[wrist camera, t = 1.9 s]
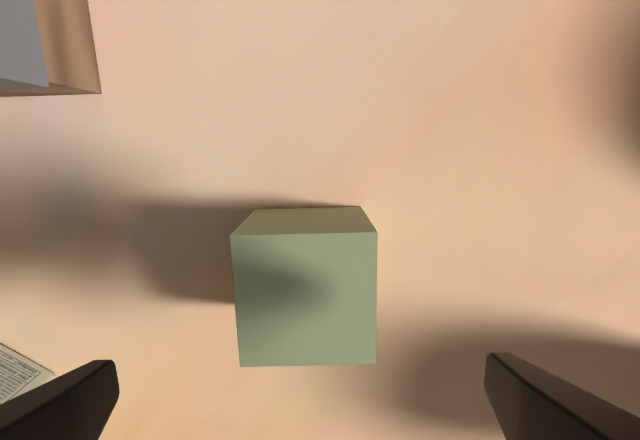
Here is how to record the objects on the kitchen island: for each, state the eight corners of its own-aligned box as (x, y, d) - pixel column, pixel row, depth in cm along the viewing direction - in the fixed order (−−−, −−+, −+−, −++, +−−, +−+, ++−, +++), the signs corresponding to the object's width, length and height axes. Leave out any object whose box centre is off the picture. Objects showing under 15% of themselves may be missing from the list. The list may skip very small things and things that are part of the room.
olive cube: (360, 206, 17) (377, 232, 12) (360, 303, 18) (375, 363, 13) (255, 208, 17) (229, 235, 12) (261, 305, 18) (240, 366, 13)
